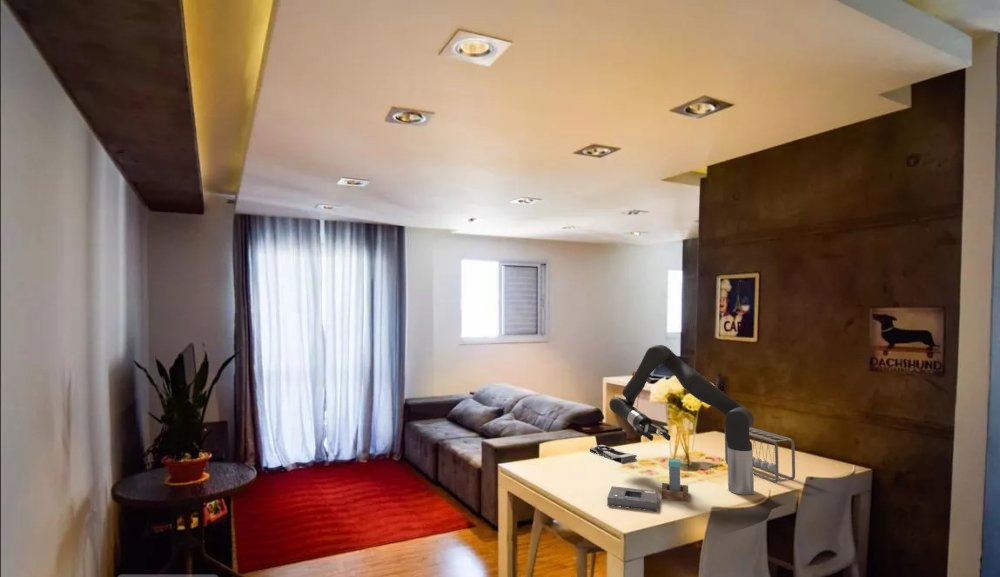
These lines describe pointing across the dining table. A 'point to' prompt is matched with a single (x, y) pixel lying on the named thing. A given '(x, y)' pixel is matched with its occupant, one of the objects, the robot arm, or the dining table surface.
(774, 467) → the newton's cradle
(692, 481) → the dining table surface
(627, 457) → the graphics card
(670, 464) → the plug
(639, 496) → the port panel
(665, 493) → the holster
